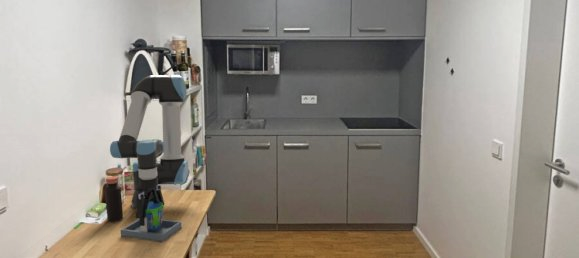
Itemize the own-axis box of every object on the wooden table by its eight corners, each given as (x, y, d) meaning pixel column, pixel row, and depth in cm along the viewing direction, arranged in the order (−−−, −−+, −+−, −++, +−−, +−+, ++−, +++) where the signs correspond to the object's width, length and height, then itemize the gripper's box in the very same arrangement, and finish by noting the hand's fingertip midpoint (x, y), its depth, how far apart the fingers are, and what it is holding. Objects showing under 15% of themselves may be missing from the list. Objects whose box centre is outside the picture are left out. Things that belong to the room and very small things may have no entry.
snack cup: (136, 223, 198) (134, 201, 196) (161, 219, 202) (159, 198, 201) (141, 237, 184) (140, 213, 182) (168, 232, 189) (166, 209, 187)
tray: (142, 223, 204) (142, 217, 203) (181, 228, 198) (181, 221, 197) (121, 236, 189) (120, 229, 189) (162, 242, 184) (162, 235, 183)
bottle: (113, 216, 212) (109, 175, 209) (126, 217, 211) (122, 176, 208) (104, 221, 206) (100, 179, 202) (117, 222, 205) (114, 180, 201)
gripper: (156, 169, 201) (159, 217, 205) (123, 184, 180) (127, 236, 184) (170, 170, 199) (173, 218, 203) (139, 185, 178) (143, 239, 182)
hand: (151, 227), depth 193 cm, fingers closed on snack cup, 10 cm apart
